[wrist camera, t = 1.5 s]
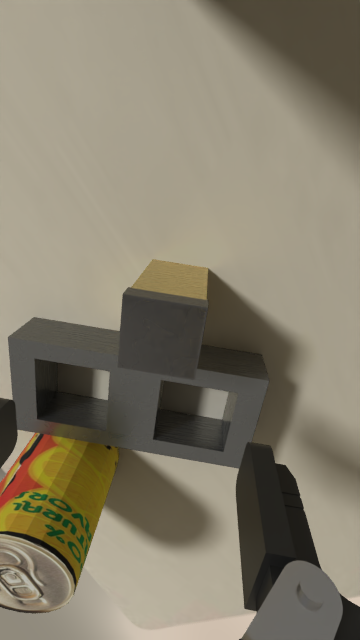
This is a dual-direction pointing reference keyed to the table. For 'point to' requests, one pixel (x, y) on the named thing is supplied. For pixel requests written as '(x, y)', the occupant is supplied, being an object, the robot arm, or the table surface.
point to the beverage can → (50, 519)
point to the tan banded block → (164, 320)
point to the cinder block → (132, 395)
